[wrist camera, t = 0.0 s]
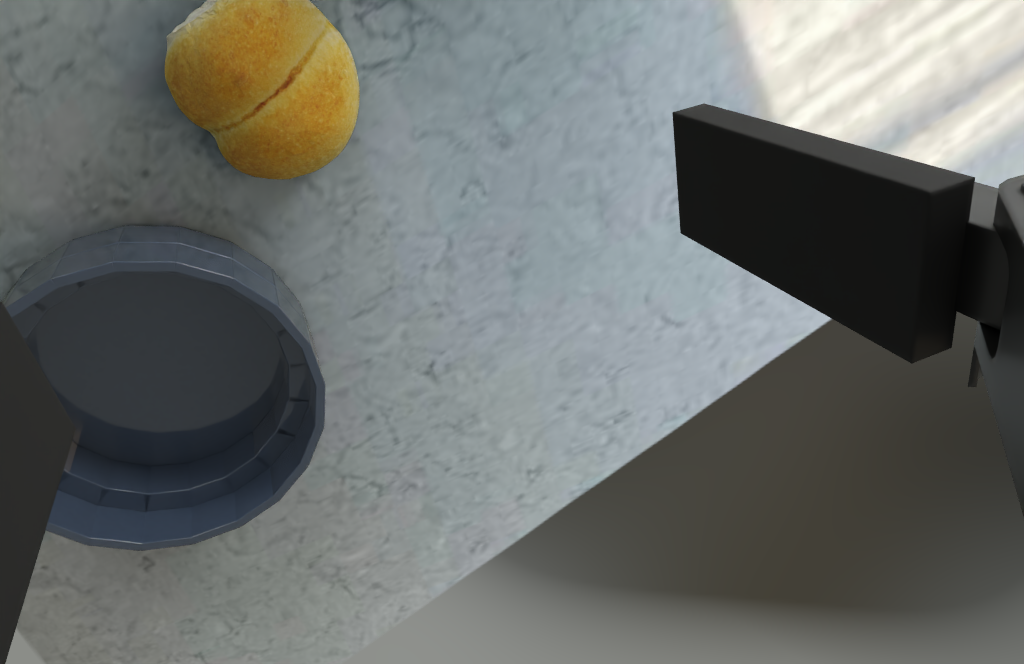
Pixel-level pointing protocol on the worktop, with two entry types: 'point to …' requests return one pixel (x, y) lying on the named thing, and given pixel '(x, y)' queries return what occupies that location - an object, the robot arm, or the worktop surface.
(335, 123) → the bread roll
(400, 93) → the worktop surface
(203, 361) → the blue grey bowl
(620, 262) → the worktop surface
